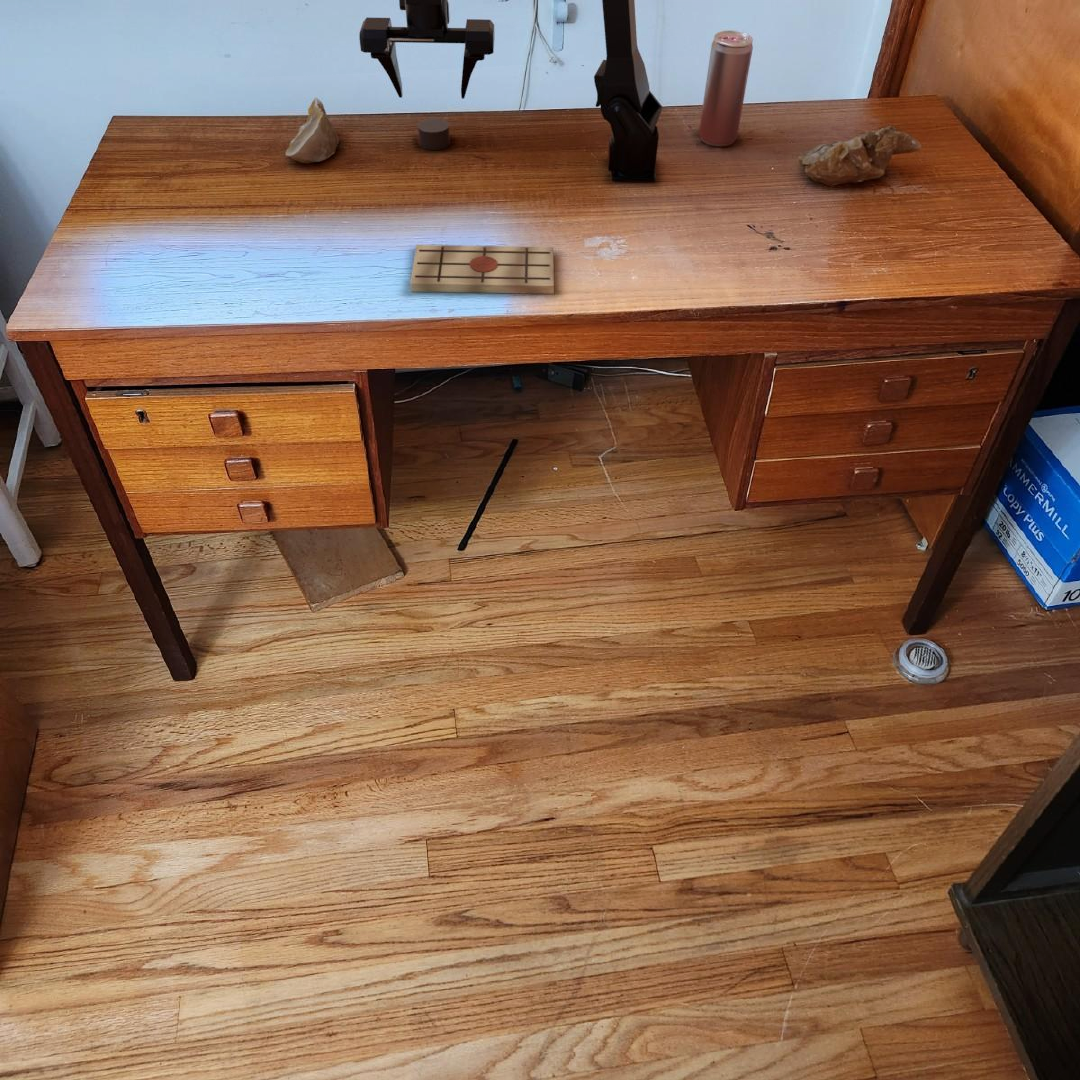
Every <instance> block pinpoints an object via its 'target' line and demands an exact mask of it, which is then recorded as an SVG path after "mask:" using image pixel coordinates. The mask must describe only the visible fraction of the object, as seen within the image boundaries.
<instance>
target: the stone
mask: <svg viewBox="0 0 1080 1080" xmlns="http://www.w3.org/2000/svg"><path fill="white" fill-rule="evenodd" d="M307 111H308V112H307V114H308V117H307V120H306V122H305V123H304V124H302V125H301V126H300V127H299V129H298V132H297V134H296V135H295V137H294V138H293V139H291V141H290V143H289V146H288V147H287V149H286V150H285V156H286V157H287V158H290V159H291V160H294V161H296V162H299V163H301V164H313V163H319V162H322V161H325V160H327V159H328V158H330V157H331V156H333V155H334V154H335V153H336V150H337V147H338V144H339V136H338V134H337V132H336V130H335V127H334V125H333V123H332V121H331V120H330V118H329V116H328V115H327V112H326V109H325V106H324V104H323V102H322V101H321V100H320V99H319V98H317V97H314V99H313V100H312V102H311V104H310V105H309V107H308V109H307Z"/></svg>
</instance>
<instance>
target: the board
mask: <svg viewBox="0 0 1080 1080" xmlns="http://www.w3.org/2000/svg"><path fill="white" fill-rule="evenodd" d="M554 259H555V258H554V246H511V245H510V246H508V245H455V244H454V245H451V244H450V245H446V244H445V245H444V244H416V246H415V251H414V258H413V264H412V270H411V277H410V283H409V285H410V292H415V293H417V292H421V293H423V292H424V293H425V292H426V293H427V292H428V293H479V294H480V293H484V294H485V293H486V294H487V293H488V294H538V295H539V294H547V295H554V294H555V274H554V273H555V269H554V268H555V266H554V261H555V260H554Z"/></svg>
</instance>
